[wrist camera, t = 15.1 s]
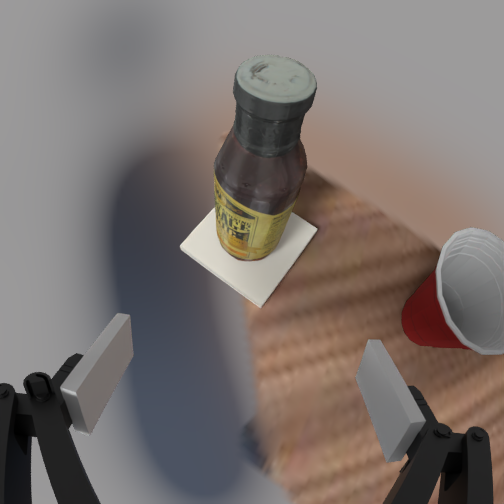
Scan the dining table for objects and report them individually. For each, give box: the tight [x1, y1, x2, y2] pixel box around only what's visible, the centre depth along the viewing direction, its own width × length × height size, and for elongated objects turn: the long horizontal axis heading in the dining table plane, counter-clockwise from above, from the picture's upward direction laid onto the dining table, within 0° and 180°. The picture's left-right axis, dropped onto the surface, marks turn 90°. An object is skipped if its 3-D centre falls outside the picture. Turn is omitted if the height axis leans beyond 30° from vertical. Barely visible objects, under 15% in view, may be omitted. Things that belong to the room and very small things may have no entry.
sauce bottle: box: [214, 55, 317, 262], centre depth 23 cm, size 7×6×20 cm
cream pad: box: [180, 207, 317, 308], centre depth 33 cm, size 10×10×1 cm
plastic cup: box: [402, 227, 504, 355], centre depth 25 cm, size 11×11×12 cm
